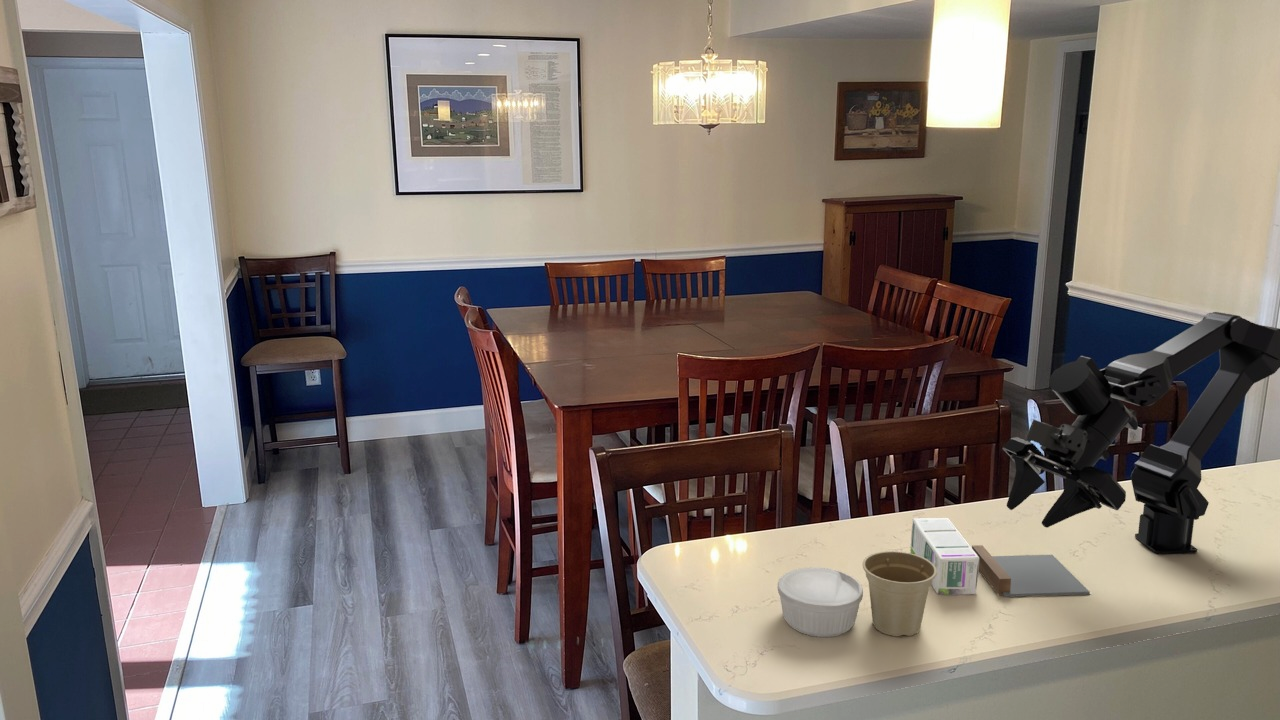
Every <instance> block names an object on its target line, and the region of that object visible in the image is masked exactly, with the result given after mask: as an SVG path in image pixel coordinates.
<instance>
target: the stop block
mask: <svg viewBox="0 0 1280 720" xmlns="http://www.w3.org/2000/svg"><path fill="white" fill-rule="evenodd" d="M971 548H972V549H973V550H974V552H975V553H976V554H977V555H978V557H979V573H980V574H981V575H982V576H983V578H984V579H985V580H986V581H987V583H988V584H989V585H990V586H991V588H993V590H994V591H995V592H996V593H997V595H998V596H1003V592H1010V587H1011V578H1010V577H1009V576H1008V574H1007V573H1006V572H1005V571H1004V570H1003V569H1002V567H1001V566H1000V565H999V564H998V563H997V562H996V560H995V559H994V558H993V557H992V555H991V554H990V552H989V551H988V550H987V549H986V548H985V547H984V545H983V544H982V545H981V544H979V545H972V546H971Z"/></svg>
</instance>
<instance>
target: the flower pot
mask: <svg viewBox="0 0 1280 720" xmlns="http://www.w3.org/2000/svg"><path fill="white" fill-rule="evenodd" d="M862 568H863V570H864V572H865V578H866V580H867V581H868V589H869V599H870V600H869V601H870V609H871V618H872V619H871V621H872V623H873V625H874V627H875V629H876V630H878V632H881V633H883V634H886V635H887V636H888V635H889V636H894V637H900V636H903V635H904V636H907V637H911V636H914V635H915V634H917V633H919V632H920V630H921V628H922V622H923V617H924V613H925V608H926V603H927V599H928V595H929V589H930V587H932V585H931V584H932V580H933V579H934V578H935V577H936V574H937V569H936V567H935V565H934V564H933V563H932V562H930V561H929V560H927V559H926V558H923V557H921V556H918V555H915V554H912V553H911V552H906V551H898V550H895V551H894V550H889V551H888V550H886V551H878V552H874V553H872V554H869V555H868V556H866V557H865V558H864V559H863V561H862Z"/></svg>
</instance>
